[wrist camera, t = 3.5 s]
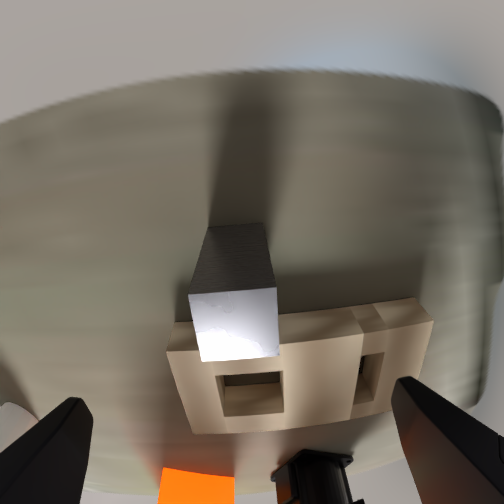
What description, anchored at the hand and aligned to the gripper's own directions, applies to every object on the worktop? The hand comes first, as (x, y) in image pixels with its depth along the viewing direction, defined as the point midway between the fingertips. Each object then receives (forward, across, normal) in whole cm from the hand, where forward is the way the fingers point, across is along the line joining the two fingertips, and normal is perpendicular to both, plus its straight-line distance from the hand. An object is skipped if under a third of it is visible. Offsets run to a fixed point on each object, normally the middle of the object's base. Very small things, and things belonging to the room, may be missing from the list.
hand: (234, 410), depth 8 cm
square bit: (+11, 0, 0) cm, 11 cm away
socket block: (+11, -4, +8) cm, 15 cm away
